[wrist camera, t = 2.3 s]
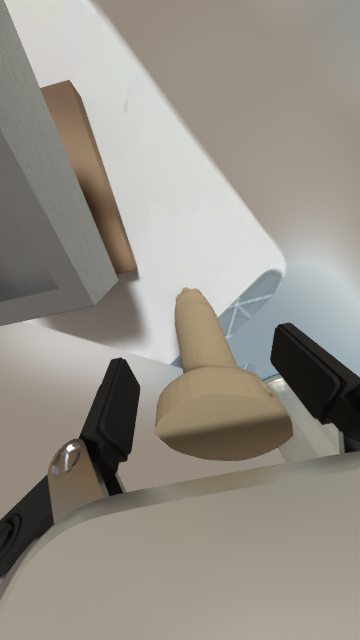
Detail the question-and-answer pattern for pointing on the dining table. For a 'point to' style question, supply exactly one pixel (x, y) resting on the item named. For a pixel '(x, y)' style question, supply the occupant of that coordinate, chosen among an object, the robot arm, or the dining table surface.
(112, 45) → the dining table surface
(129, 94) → the dining table surface
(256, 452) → the handle
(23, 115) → the grey open box
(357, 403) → the robot arm
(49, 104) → the stand
